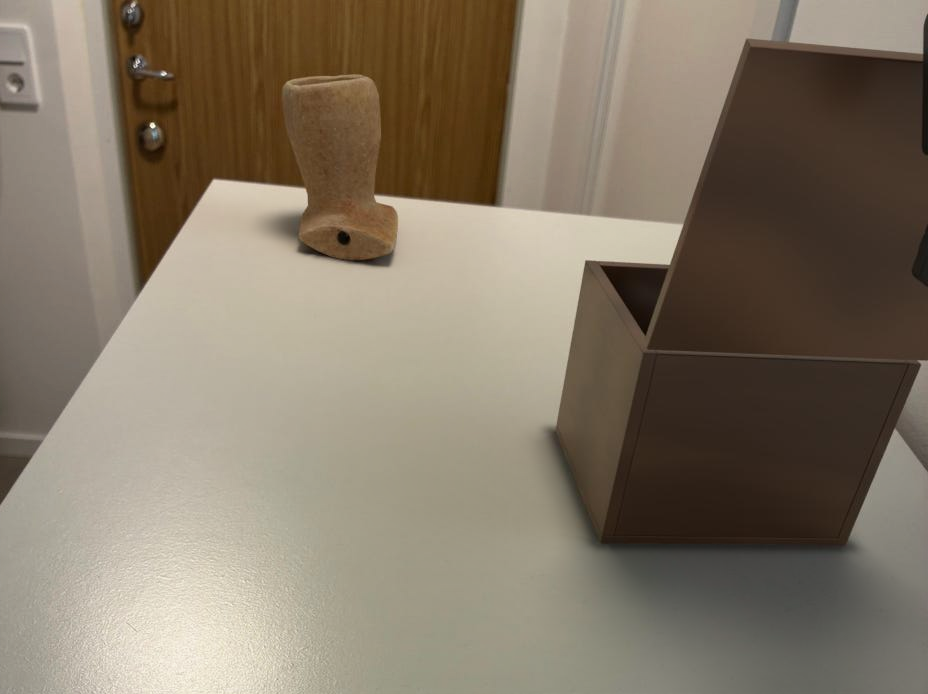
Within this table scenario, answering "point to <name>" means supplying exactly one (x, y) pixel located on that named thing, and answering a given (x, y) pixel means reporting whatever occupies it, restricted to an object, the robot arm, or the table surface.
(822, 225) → the chest lid
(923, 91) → the robot arm
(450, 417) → the table surface
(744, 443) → the chest
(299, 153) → the tan boot
